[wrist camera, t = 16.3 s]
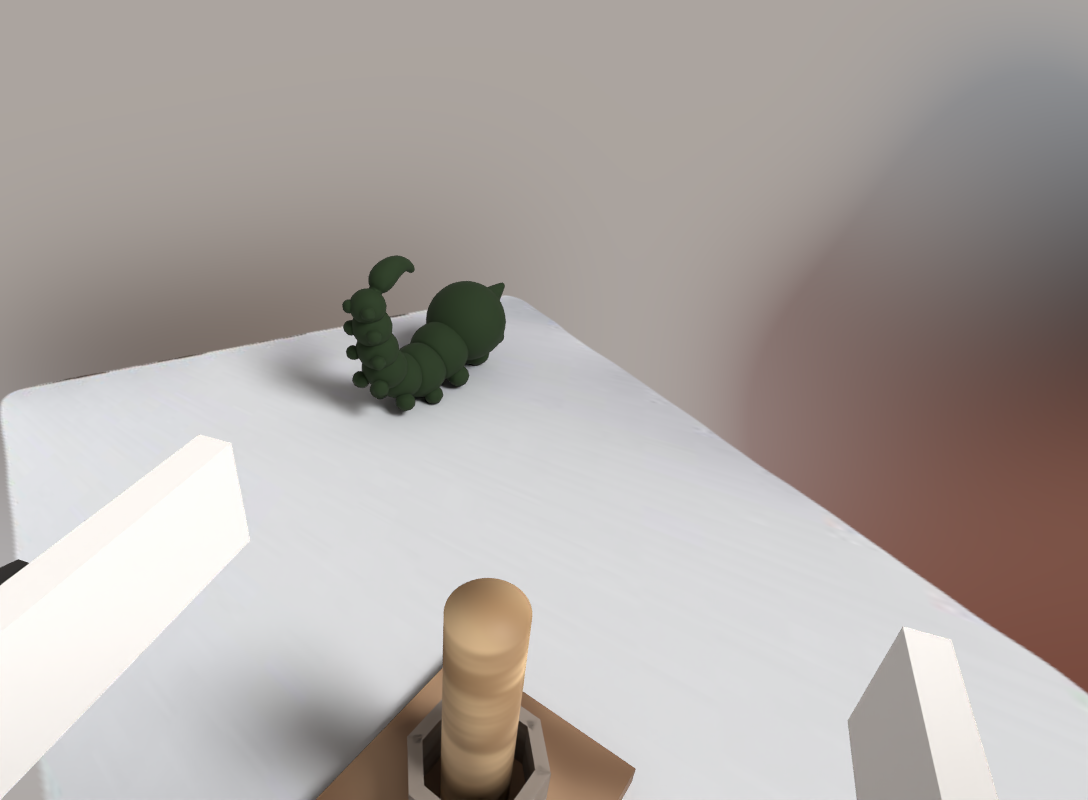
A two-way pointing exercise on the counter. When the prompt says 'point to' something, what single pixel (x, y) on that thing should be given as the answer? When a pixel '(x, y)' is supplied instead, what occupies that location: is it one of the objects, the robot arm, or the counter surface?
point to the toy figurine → (422, 336)
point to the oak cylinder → (482, 687)
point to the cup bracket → (538, 768)
